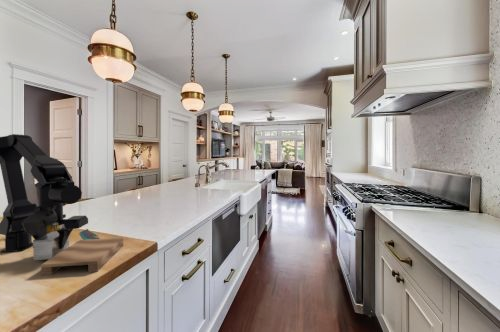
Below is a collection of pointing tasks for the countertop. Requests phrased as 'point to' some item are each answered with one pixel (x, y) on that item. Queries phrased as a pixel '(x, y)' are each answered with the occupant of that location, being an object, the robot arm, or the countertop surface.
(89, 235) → the knife
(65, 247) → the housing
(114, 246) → the stand
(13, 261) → the countertop surface
